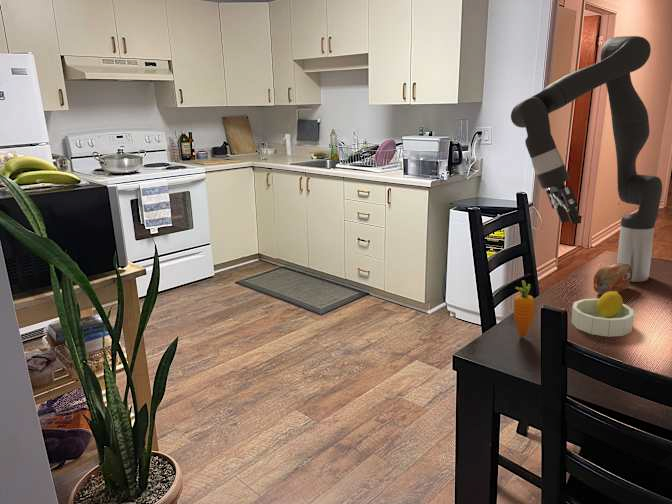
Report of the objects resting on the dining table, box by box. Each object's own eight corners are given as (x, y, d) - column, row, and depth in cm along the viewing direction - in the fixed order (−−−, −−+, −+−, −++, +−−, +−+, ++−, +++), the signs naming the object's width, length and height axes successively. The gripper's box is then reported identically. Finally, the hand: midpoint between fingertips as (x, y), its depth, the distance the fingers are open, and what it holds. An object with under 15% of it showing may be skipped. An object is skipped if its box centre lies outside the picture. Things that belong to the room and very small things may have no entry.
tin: (599, 298, 150) (602, 271, 148) (590, 295, 153) (592, 268, 151) (631, 287, 157) (634, 262, 154) (622, 285, 159) (624, 259, 157)
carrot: (530, 343, 125) (533, 286, 121) (509, 339, 128) (512, 284, 124) (534, 335, 129) (538, 280, 125) (514, 332, 132) (517, 277, 128)
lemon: (616, 323, 130) (631, 296, 130) (596, 312, 131) (611, 285, 131) (607, 322, 136) (622, 296, 136) (588, 312, 136) (602, 286, 137)
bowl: (592, 309, 142) (593, 294, 141) (643, 326, 131) (645, 310, 130) (560, 322, 136) (561, 307, 134) (610, 341, 124) (612, 324, 123)
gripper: (572, 161, 133) (594, 218, 134) (554, 164, 147) (574, 216, 148) (544, 172, 134) (566, 229, 135) (529, 174, 148) (549, 226, 149)
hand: (570, 222), depth 141 cm, fingers open, 8 cm apart
